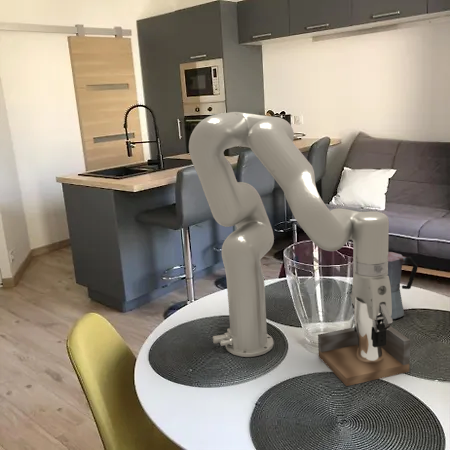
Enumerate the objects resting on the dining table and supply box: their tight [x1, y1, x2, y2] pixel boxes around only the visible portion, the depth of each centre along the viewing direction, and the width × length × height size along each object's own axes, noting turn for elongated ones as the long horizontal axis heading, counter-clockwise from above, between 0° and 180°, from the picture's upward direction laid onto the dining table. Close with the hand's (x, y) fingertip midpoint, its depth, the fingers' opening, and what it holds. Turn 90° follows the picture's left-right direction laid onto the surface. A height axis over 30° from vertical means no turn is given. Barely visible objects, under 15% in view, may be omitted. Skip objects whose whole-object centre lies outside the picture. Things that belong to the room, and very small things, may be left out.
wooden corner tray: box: [317, 325, 411, 387], centre depth 121 cm, size 16×14×8 cm
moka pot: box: [388, 251, 419, 320], centre depth 144 cm, size 10×15×20 cm, turn 54°
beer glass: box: [353, 297, 383, 363], centre depth 119 cm, size 7×7×15 cm
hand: (369, 337), depth 119 cm, fingers open, 7 cm apart
